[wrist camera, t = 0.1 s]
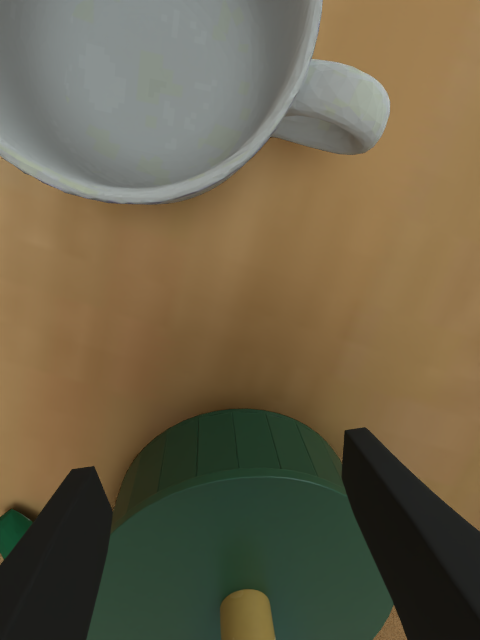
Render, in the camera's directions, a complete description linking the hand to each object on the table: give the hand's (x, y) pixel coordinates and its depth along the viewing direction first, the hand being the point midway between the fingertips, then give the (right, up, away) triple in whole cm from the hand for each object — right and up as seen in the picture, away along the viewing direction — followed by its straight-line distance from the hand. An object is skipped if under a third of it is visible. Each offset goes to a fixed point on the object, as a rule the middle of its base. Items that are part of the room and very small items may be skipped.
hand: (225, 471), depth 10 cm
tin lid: (+1, -10, +9) cm, 13 cm away
